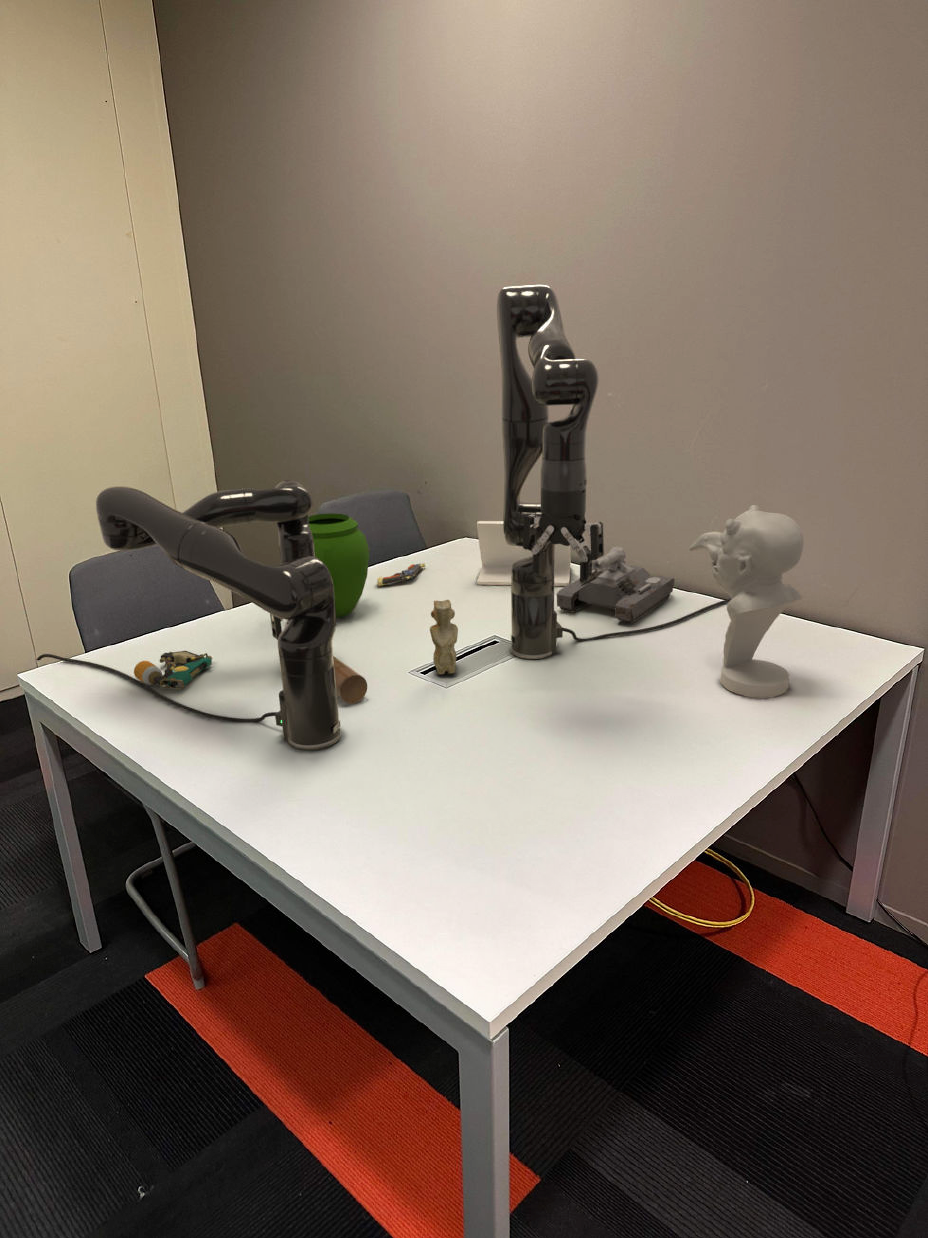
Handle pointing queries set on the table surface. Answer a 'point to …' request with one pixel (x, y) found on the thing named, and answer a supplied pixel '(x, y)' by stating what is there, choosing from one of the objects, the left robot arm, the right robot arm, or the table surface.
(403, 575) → the toy gun
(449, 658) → the sculpture
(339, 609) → the vase
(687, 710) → the table surface
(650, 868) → the table surface
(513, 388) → the right robot arm
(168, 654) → the spray gun
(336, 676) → the rod
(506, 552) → the tablet stand
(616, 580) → the toy
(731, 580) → the bust sculpture
